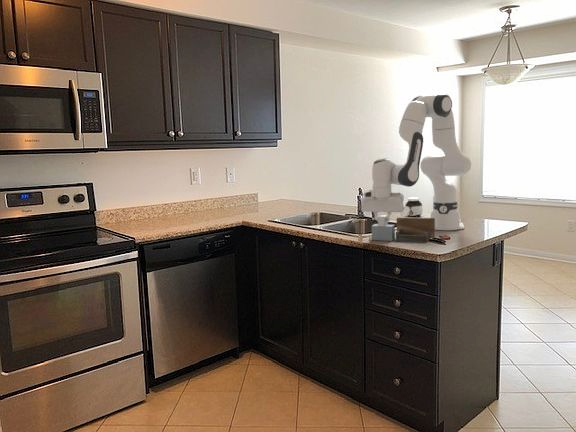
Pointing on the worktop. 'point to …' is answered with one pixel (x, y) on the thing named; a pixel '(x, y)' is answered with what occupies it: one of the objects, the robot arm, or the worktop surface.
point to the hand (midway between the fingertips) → (382, 221)
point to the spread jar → (412, 208)
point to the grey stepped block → (383, 230)
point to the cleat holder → (415, 229)
